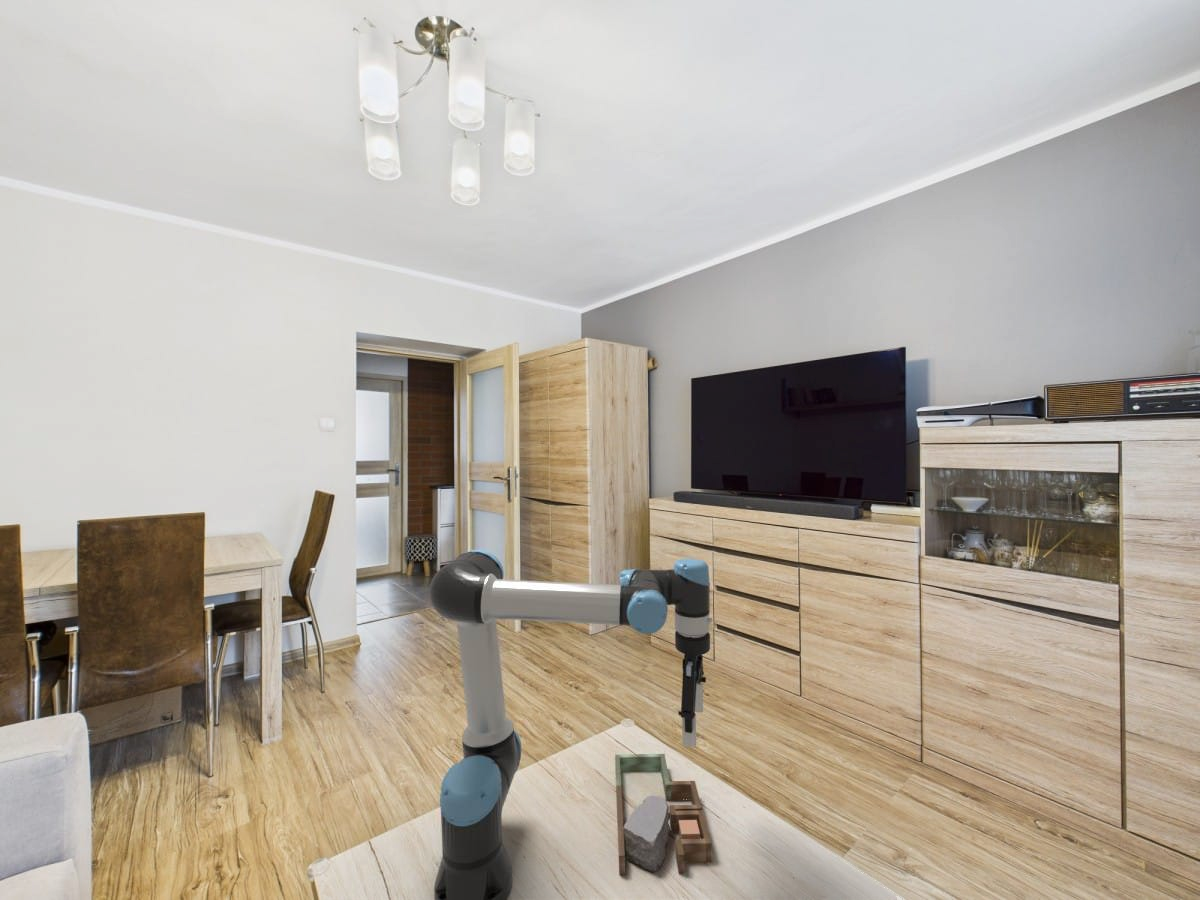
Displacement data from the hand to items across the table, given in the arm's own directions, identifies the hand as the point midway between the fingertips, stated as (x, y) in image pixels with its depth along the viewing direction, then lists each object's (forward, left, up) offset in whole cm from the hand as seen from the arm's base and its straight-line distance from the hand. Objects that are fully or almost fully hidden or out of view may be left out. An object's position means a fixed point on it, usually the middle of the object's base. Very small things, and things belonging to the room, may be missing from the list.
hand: (693, 727), depth 111 cm
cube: (-1, 0, -26) cm, 26 cm away
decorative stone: (-11, -1, -26) cm, 28 cm away
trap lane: (-7, +9, -26) cm, 28 cm away
